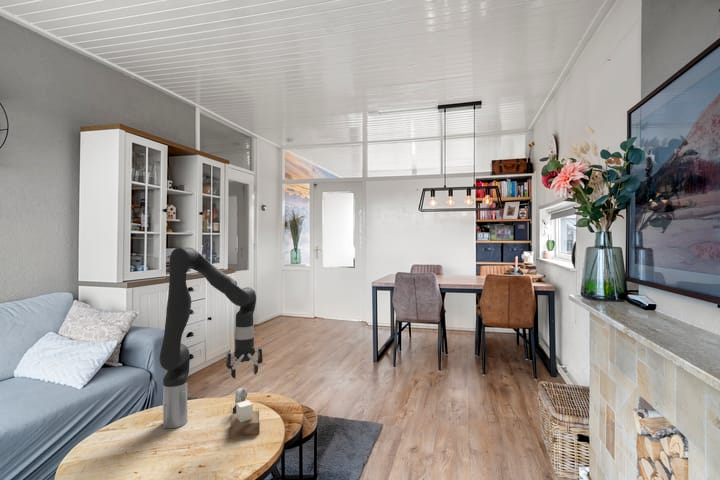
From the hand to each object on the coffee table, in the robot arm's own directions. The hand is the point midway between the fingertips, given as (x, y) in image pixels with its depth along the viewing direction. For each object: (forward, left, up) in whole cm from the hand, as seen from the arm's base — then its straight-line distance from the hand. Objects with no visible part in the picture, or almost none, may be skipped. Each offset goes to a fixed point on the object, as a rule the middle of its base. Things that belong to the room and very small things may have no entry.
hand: (244, 375), depth 154 cm
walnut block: (0, 0, -22) cm, 22 cm away
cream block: (0, 0, -17) cm, 17 cm away
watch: (+2, +16, -22) cm, 27 cm away
